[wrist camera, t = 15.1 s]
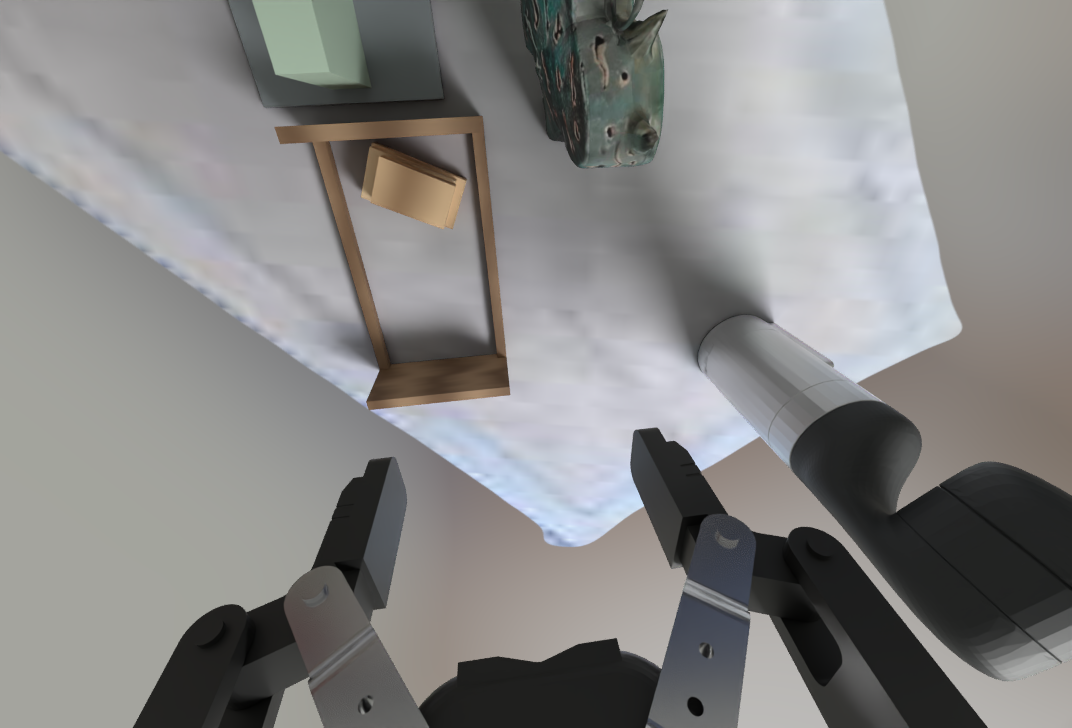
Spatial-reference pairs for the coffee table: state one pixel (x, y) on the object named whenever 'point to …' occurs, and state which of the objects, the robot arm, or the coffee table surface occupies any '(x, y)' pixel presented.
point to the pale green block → (314, 41)
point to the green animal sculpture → (598, 78)
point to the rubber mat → (389, 47)
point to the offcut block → (412, 187)
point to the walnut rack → (393, 380)
